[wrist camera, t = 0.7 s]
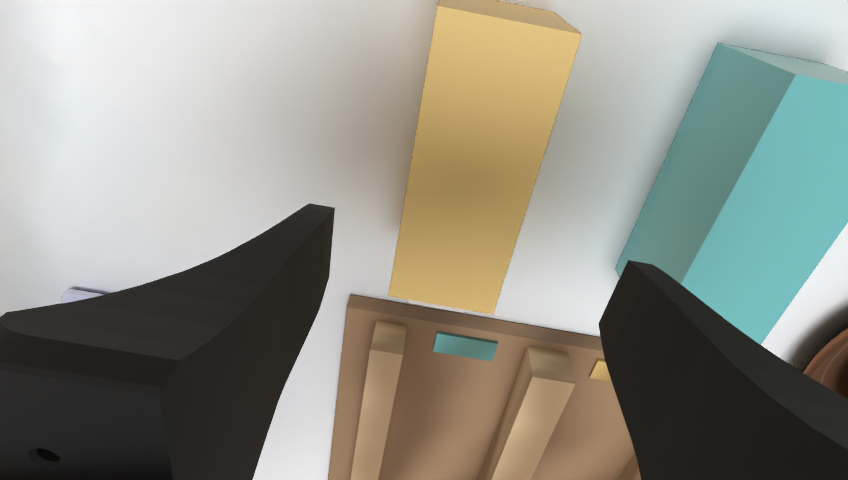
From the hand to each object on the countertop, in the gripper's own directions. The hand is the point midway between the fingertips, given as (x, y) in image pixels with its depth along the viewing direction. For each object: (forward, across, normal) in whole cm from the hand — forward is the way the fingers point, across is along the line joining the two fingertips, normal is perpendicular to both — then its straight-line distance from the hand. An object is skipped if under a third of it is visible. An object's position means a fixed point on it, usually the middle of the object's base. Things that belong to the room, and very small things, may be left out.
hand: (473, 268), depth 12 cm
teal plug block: (+10, -10, 0) cm, 14 cm away
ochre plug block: (+10, 0, 0) cm, 10 cm away
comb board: (+9, -6, +18) cm, 21 cm away
